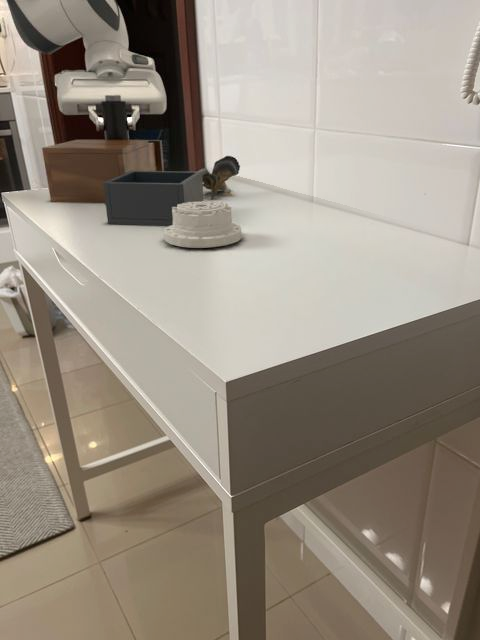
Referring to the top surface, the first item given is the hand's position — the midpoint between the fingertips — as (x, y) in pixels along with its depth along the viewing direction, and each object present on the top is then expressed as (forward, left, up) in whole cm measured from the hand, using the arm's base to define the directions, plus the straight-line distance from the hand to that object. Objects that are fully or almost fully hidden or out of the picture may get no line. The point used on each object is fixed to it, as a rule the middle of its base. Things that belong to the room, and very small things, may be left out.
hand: (116, 128), depth 105 cm
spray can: (0, +1, -6) cm, 6 cm away
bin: (+15, -25, -11) cm, 31 cm away
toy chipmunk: (+21, -7, -11) cm, 25 cm away
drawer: (0, +3, -10) cm, 10 cm away
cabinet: (0, -9, -11) cm, 14 cm away
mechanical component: (+25, -38, -11) cm, 47 cm away
